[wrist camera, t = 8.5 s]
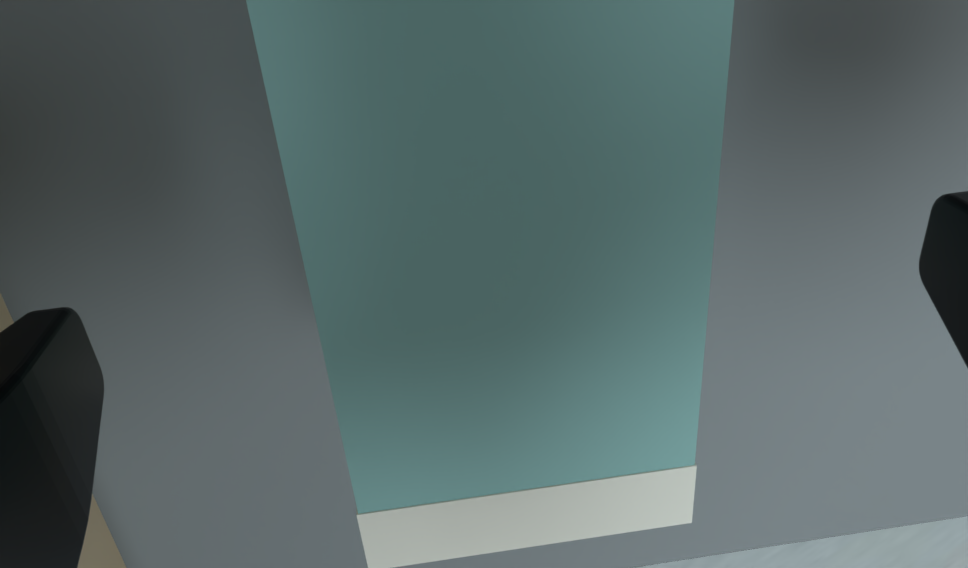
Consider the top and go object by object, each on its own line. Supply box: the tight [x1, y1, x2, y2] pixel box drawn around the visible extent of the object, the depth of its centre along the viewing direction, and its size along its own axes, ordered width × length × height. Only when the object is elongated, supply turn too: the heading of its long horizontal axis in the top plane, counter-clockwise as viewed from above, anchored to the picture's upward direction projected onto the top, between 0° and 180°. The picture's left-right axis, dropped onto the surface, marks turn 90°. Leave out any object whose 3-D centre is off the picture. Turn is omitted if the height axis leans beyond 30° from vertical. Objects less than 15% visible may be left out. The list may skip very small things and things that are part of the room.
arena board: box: [0, 0, 968, 568], centre depth 14 cm, size 17×20×4 cm
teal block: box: [246, 0, 734, 568], centre depth 11 cm, size 4×7×5 cm, turn 4°
